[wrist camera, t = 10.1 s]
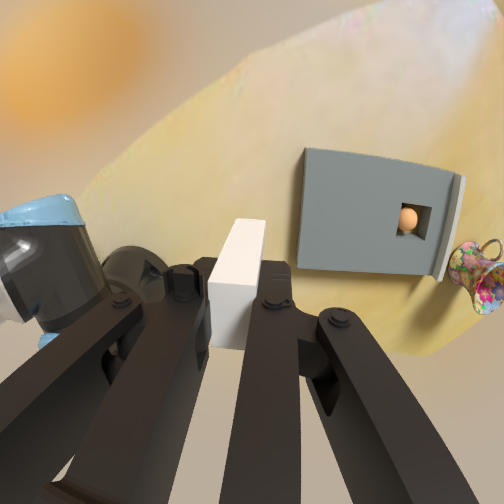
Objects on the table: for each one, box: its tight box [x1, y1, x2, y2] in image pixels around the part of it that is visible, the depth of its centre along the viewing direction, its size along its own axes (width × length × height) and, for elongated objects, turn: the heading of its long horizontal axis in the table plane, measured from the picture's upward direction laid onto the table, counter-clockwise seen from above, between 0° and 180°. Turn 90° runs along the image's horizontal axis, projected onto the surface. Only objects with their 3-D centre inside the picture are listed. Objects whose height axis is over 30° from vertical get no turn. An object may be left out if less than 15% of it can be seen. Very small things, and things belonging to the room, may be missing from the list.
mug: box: [448, 239, 504, 315], centre depth 36 cm, size 12×9×11 cm
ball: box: [398, 207, 417, 231], centre depth 38 cm, size 4×4×4 cm
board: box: [296, 148, 466, 282], centre depth 38 cm, size 24×17×5 cm
